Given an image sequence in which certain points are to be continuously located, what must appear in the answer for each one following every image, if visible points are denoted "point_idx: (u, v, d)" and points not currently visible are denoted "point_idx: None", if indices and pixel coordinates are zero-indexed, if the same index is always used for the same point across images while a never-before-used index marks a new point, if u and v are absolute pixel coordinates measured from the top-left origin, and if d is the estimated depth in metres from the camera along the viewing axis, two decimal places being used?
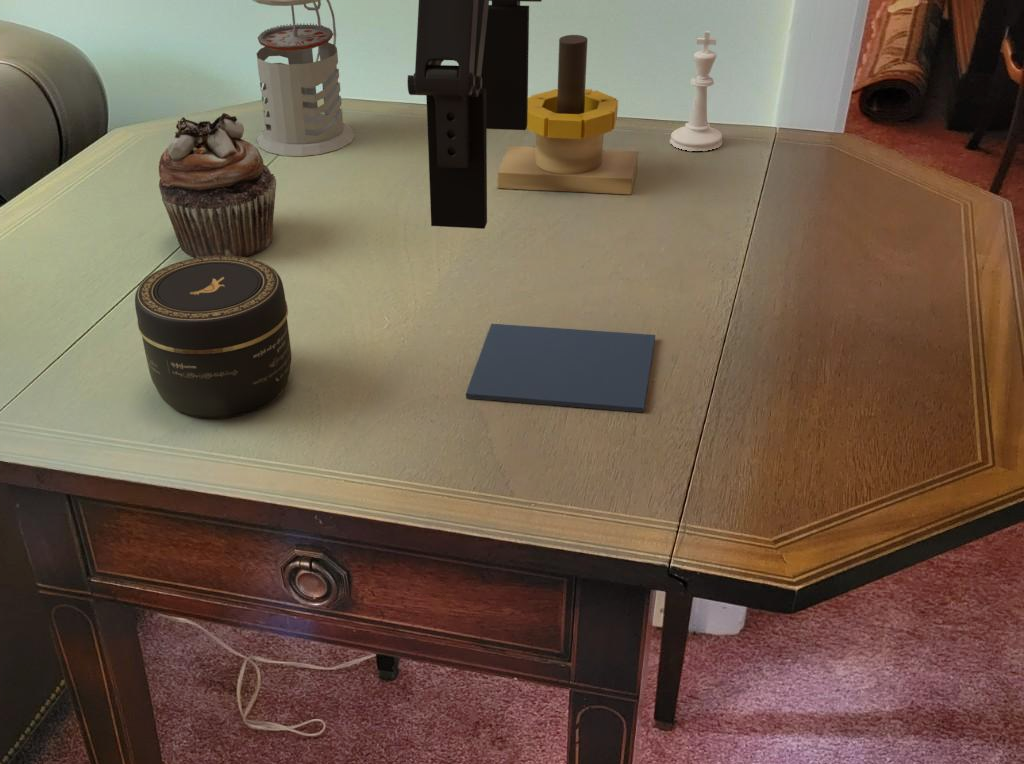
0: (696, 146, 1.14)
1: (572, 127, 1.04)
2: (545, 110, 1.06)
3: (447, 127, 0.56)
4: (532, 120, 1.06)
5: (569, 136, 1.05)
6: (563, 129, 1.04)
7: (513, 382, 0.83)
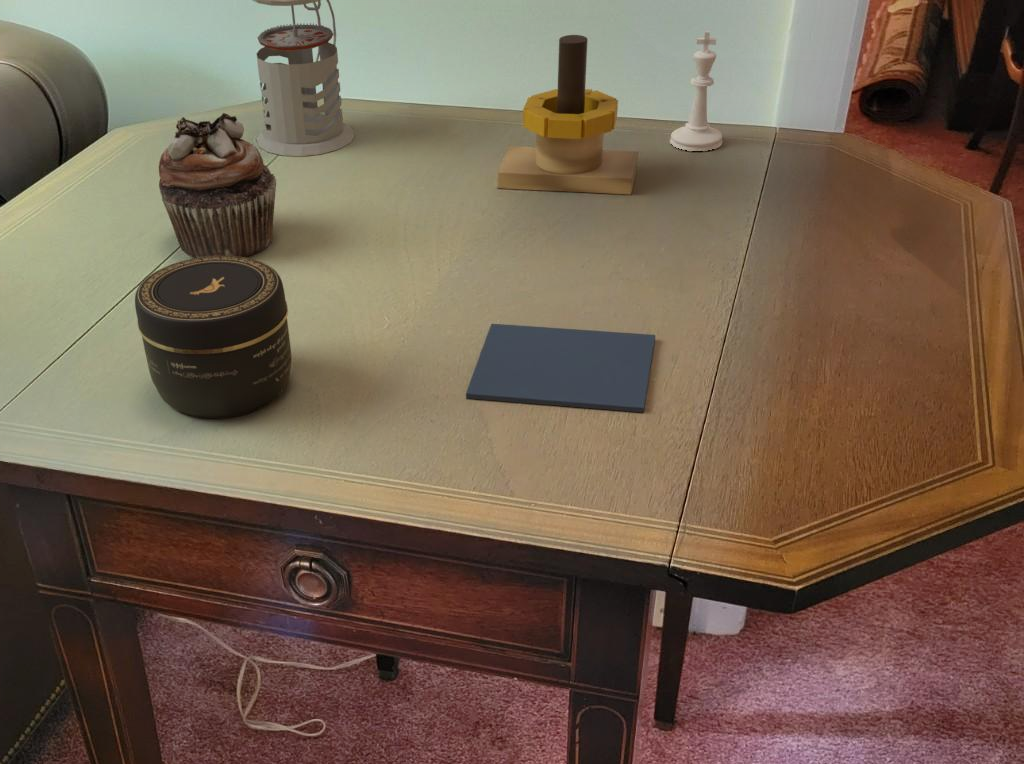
0: (696, 146, 1.14)
1: (572, 127, 1.04)
2: (545, 110, 1.06)
3: None
4: (532, 120, 1.06)
5: (569, 136, 1.05)
6: (563, 129, 1.04)
7: (513, 382, 0.83)
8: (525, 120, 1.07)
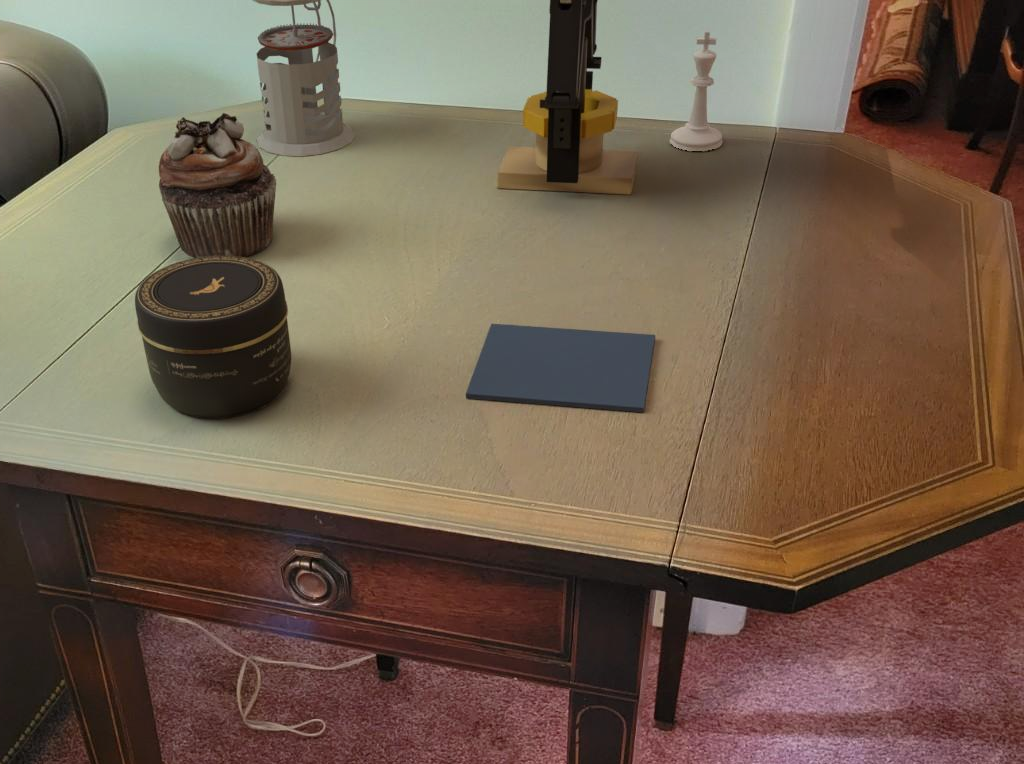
0: (696, 146, 1.14)
1: None
2: (545, 110, 1.06)
3: (560, 125, 1.02)
4: (532, 120, 1.06)
5: None
6: None
7: (513, 382, 0.83)
8: (525, 120, 1.07)
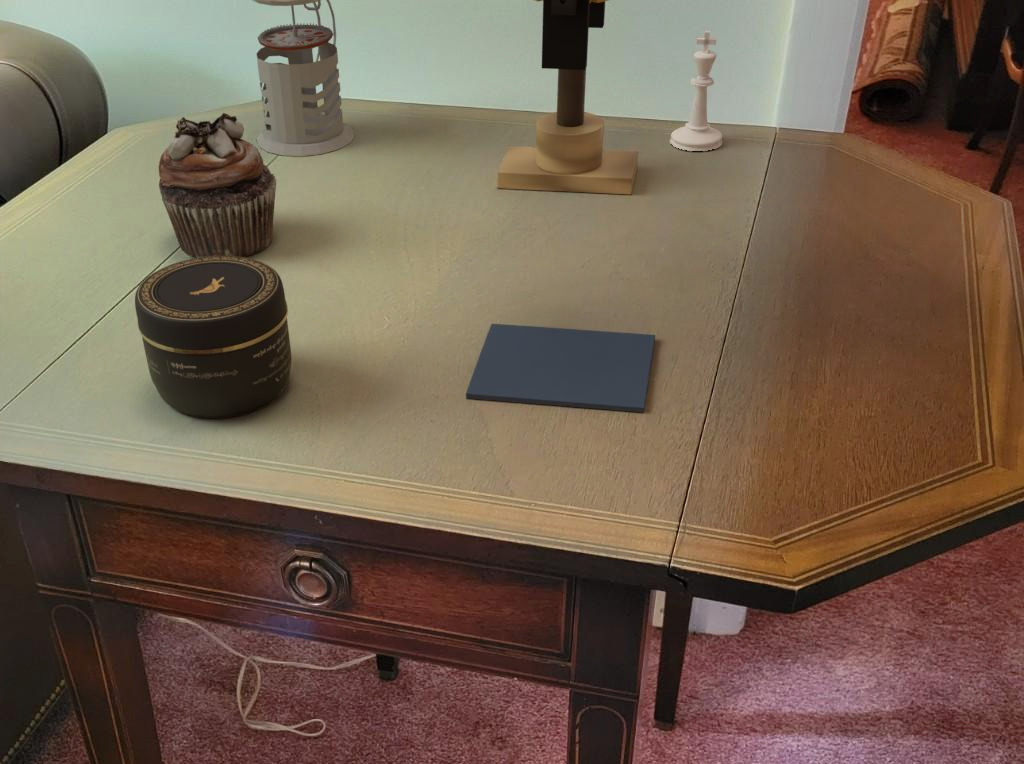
0: (696, 146, 1.14)
1: None
2: None
3: None
4: None
5: None
6: None
7: (513, 382, 0.83)
8: None
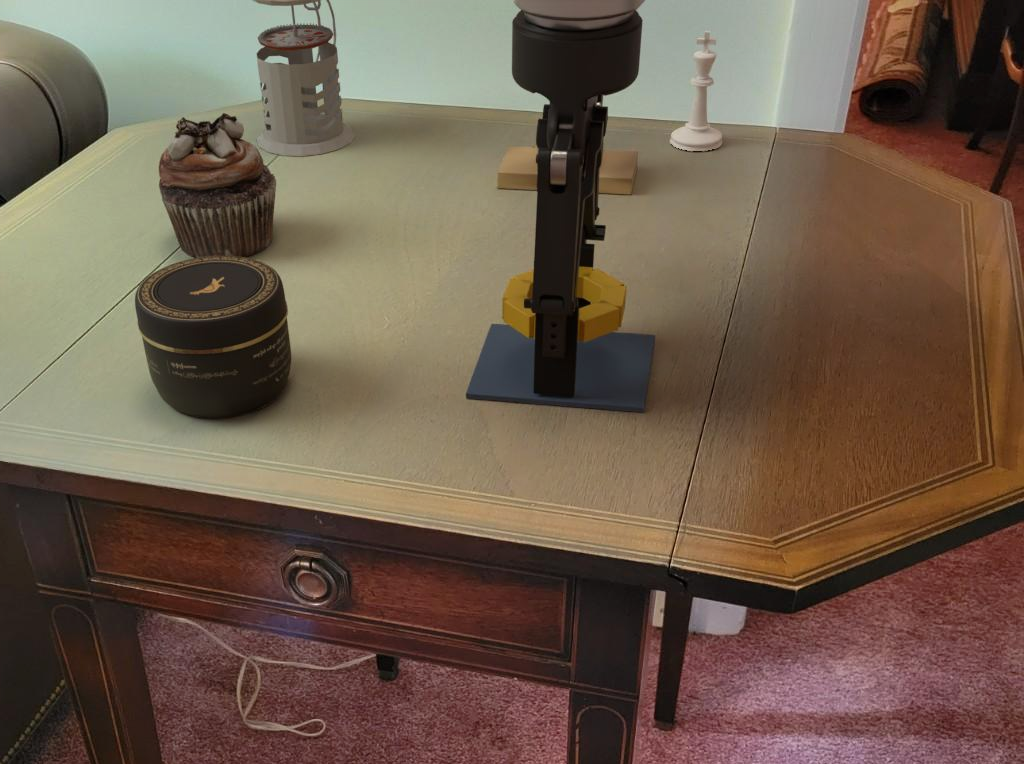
0: (696, 146, 1.14)
1: None
2: None
3: (551, 331, 0.77)
4: (514, 315, 0.81)
5: None
6: None
7: (513, 382, 0.83)
8: (505, 313, 0.81)
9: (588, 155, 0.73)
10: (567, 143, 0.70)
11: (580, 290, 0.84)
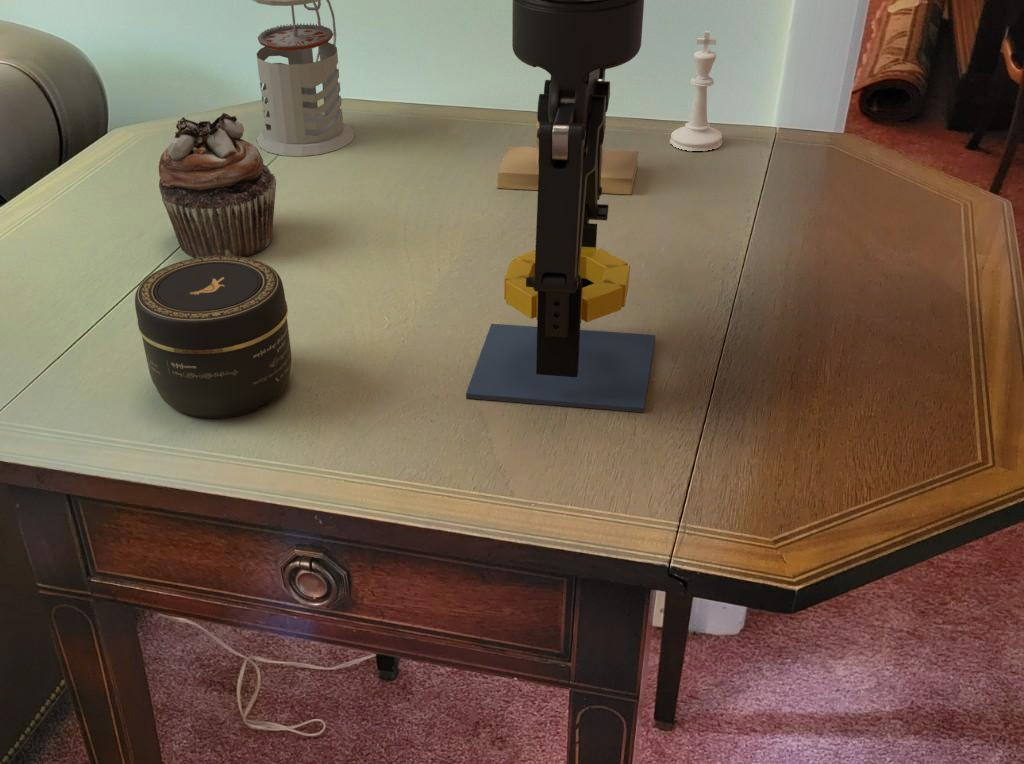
0: (696, 146, 1.14)
1: None
2: None
3: (554, 310, 0.76)
4: (516, 295, 0.80)
5: None
6: None
7: (513, 382, 0.83)
8: (507, 294, 0.80)
9: (590, 131, 0.72)
10: (569, 117, 0.69)
11: (583, 270, 0.83)
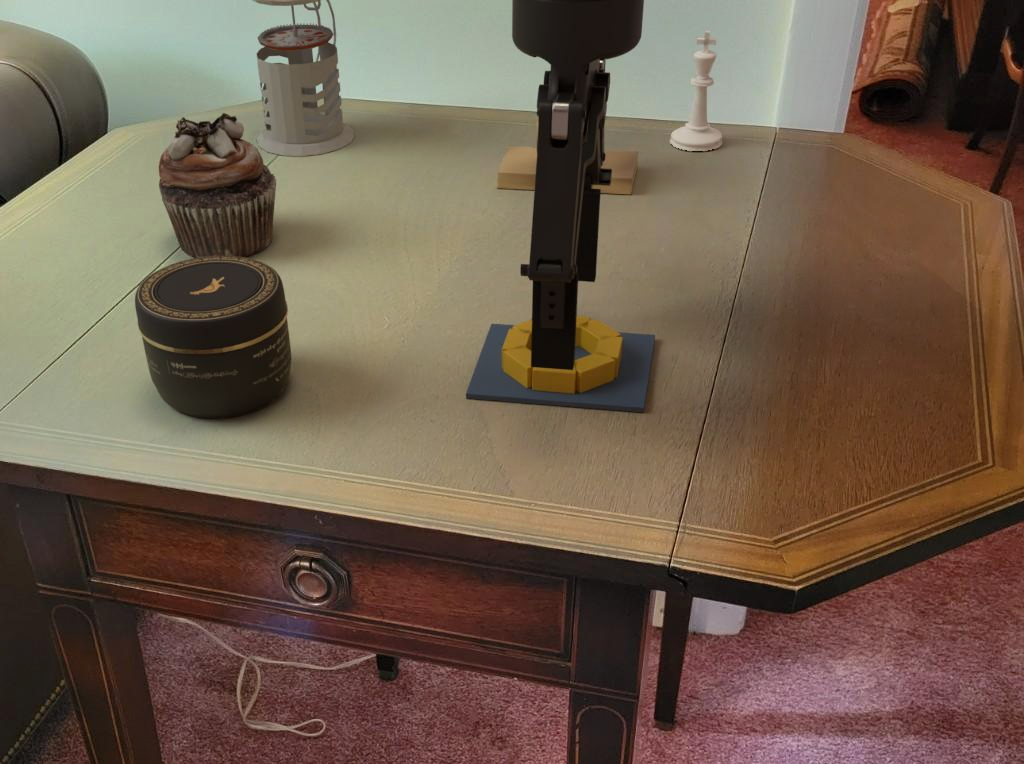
0: (696, 146, 1.14)
1: (563, 380, 0.81)
2: (529, 353, 0.83)
3: (549, 300, 0.74)
4: (513, 366, 0.83)
5: (560, 390, 0.82)
6: (551, 381, 0.82)
7: (513, 382, 0.83)
8: (504, 363, 0.84)
9: (589, 118, 0.71)
10: (569, 98, 0.68)
11: (578, 339, 0.86)
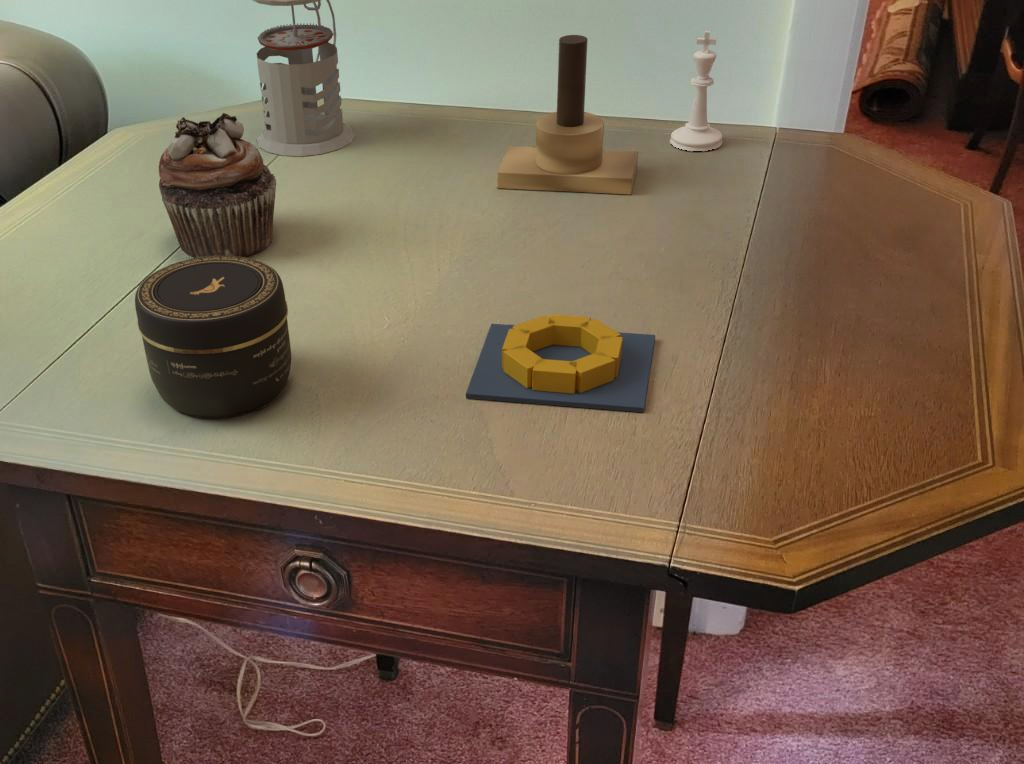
0: (696, 146, 1.14)
1: (563, 380, 0.81)
2: (529, 353, 0.83)
3: None
4: (513, 366, 0.83)
5: (560, 390, 0.82)
6: (551, 381, 0.82)
7: (513, 382, 0.83)
8: (504, 363, 0.84)
9: None
10: None
11: (578, 339, 0.86)
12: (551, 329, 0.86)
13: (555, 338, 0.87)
